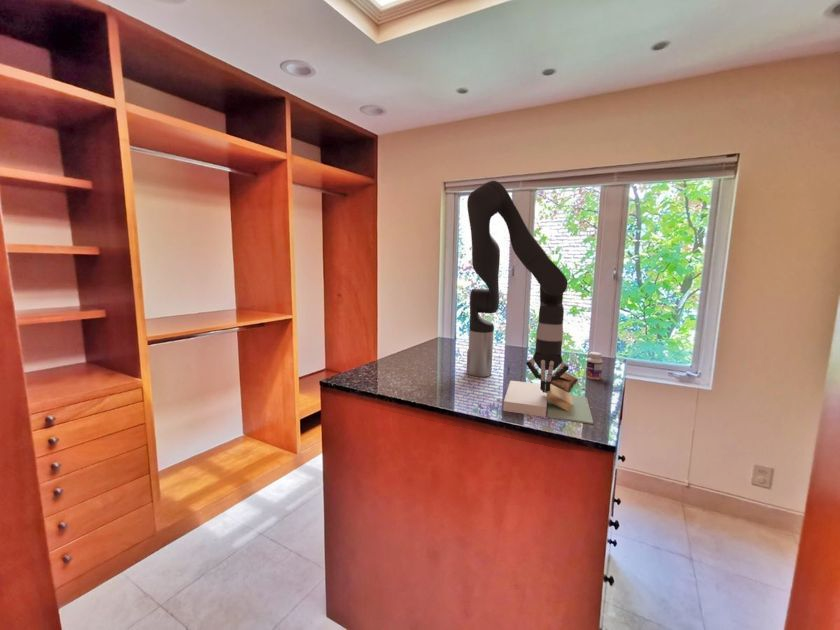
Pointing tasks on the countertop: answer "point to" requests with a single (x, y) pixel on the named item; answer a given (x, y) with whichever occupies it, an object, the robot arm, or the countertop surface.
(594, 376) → the pill bottle
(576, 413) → the mat
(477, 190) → the robot arm
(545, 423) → the countertop surface
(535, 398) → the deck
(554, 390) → the birch tile
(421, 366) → the countertop surface
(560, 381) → the sunglasses case
